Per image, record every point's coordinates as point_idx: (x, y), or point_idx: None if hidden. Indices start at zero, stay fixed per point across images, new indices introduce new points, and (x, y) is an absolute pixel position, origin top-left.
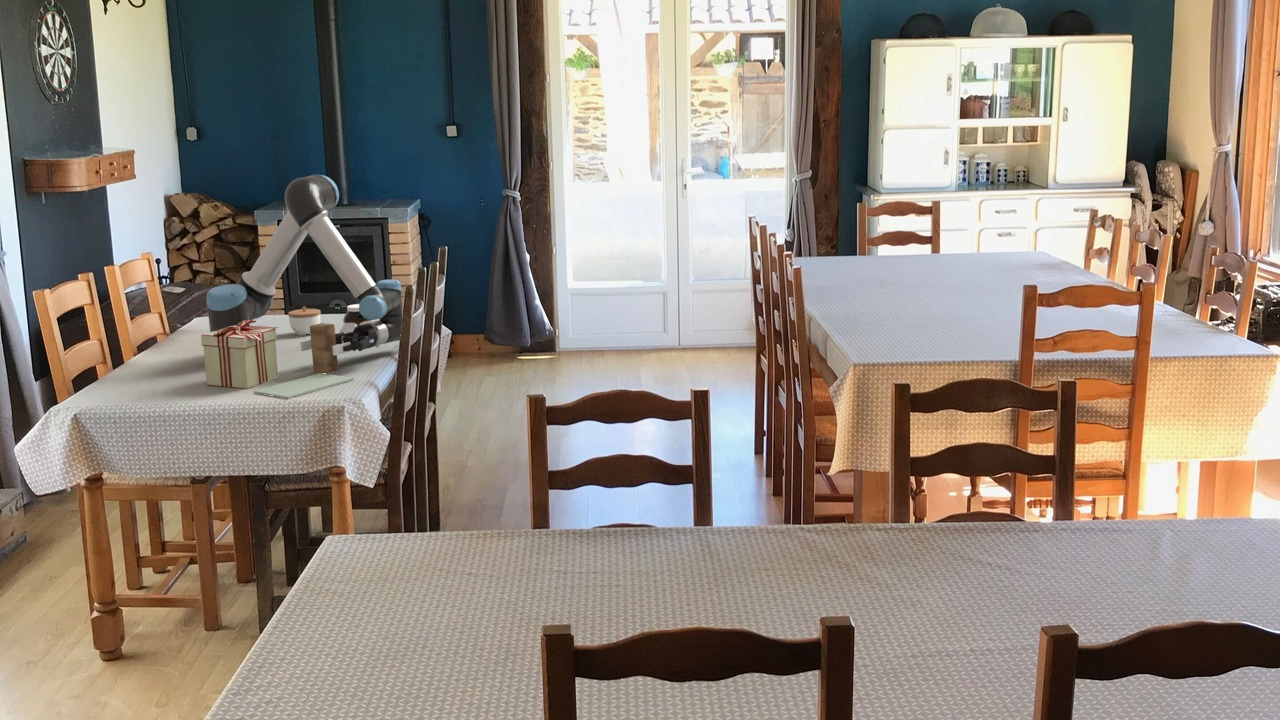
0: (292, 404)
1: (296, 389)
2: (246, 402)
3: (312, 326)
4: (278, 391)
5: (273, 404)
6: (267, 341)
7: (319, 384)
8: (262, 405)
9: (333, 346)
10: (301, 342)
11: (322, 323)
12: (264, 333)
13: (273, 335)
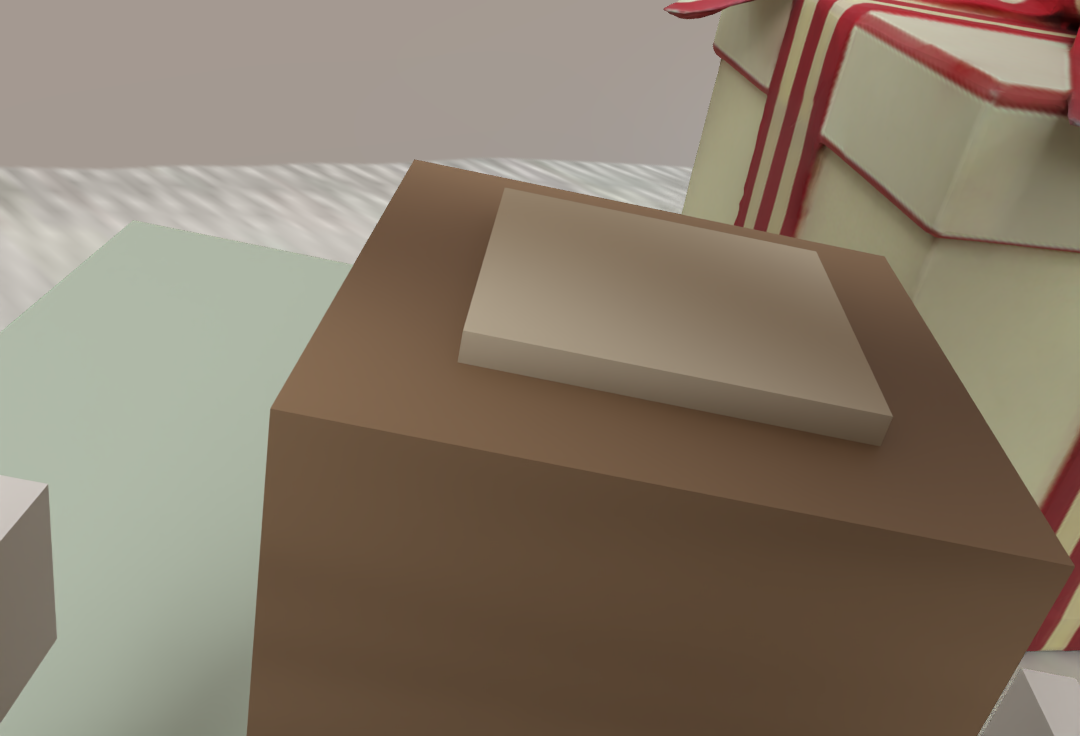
0: (37, 180)
1: (187, 322)
2: (373, 208)
3: (774, 238)
4: (304, 289)
5: (172, 184)
6: (847, 161)
7: (35, 430)
8: (231, 178)
9: (9, 478)
10: (1037, 678)
11: (803, 371)
12: (865, 38)
13: (926, 154)
